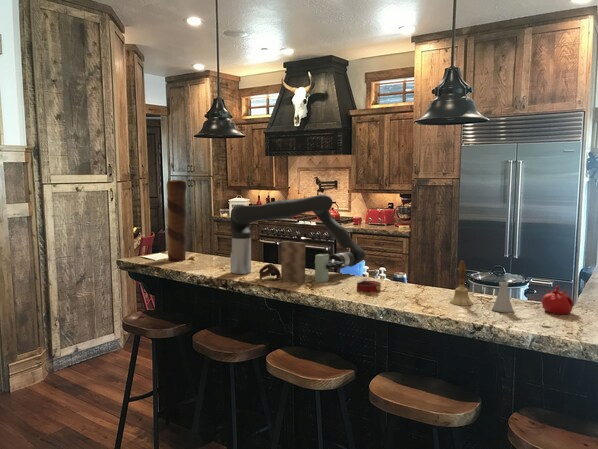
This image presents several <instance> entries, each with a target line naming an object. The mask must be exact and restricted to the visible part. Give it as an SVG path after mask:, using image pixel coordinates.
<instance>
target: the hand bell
mask: <svg viewBox="0 0 598 449" xmlns="http://www.w3.org/2000/svg"><path fill="white" fill-rule="evenodd" d="M466 269H467V268H466V264H465V261H464V260H460V262H459V265H458V270H457V271H458V275H459V282H458V283H459V286H458V287H456V288H455V290H454V294H453V297H452V298H451V299H450V300H449V303H450V304H452V305H455V306H463V307H464V306H465V307H466V306H467V307H469V306H472V305H473V304H474V302H473V301H472V299H471V298H470V296H469V290H468V288H466V287H465V277H466V276H465V275H466Z"/></svg>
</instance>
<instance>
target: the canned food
mask: <svg viewBox="0 0 598 449" xmlns="http://www.w3.org/2000/svg"><path fill="white" fill-rule="evenodd" d="M378 273H379V271H375V272H373V273H372V274H371V275H370V276H368V277H366V278H364V279H362V280H359V281H357V282H356V290H357V292H361V291H362V293H370V294H371V293H379V292H380V291H381V289H382V288H381V286H382V285H381V282H379V281H376V280H368V279H370V278H372V277H373V276H375V275H377V274H378Z"/></svg>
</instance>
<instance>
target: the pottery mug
mask: <svg viewBox="0 0 598 449" xmlns="http://www.w3.org/2000/svg"><path fill="white" fill-rule="evenodd" d="M258 273H259V279H260V280H262V279H263V278H266V277H275V276H276V279H279V281H281V270H279V268H278V267H277V266H276V265H275V264H273V263H268V264H266V265H264V266H262V267H261V268H260V269H259V271H258Z"/></svg>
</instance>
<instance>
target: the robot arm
mask: <svg viewBox="0 0 598 449" xmlns="http://www.w3.org/2000/svg"><path fill="white" fill-rule="evenodd" d="M333 204H334V203H333V198H332V197H331V196H329V195H328V194H319V195H318V194H317V195H313V196H308V197H303V198H291V199H282V200H275V201H271V202H267V203H264V204H260V205H259V204H257V205H244V204H236V205H235V206H233V207H232V208H231V211H230V232H231V252H230V264H229V265H230V266H229V268H230V273H232V274H233V275H234V274H236V275H247V274H250V273H252V238H251V237H252V234H251V233H252V232H251V230H250V224H251V223H255V222H259V221H266V220H267V221H270V220H271V221H272V220H283V219H290V218H295V217H297V216H299V215H302V214H305V213H309V212H313V214H314V215H315V216H316V217H317V218H318V220H319V221H321V223H323V225H324V226H325V227H326V229H327V230H328V231H329V232H330V233H331V235H332V236H333V238H334V239H335V241H336V242H337V244H338V245H339V248H341V250H347V249H350V250H351V251H345V252H339V253H334V254H331V255H329V264H327V265H326V269H328V270H332V271H339V270H342V269H345V268H347V267H354V266H356V265H358V264H360V263H361V262H363V261H364V260H365V258H366V252H365V250H364V249H363V248H362V247H361V246H359V245H358V243H356V242H355V241H354V240H353V239H352V238H351V236H350V234H349V232H348V231H347V230H346V229H345V227H343V226H342V225H341V224H340V223H339V222H338V221H336V219H335V218H334V216H332V214H331V212H330V210H331V209H332V207H333ZM312 268H314V269H315V260H314V262H313V263H312Z"/></svg>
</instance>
